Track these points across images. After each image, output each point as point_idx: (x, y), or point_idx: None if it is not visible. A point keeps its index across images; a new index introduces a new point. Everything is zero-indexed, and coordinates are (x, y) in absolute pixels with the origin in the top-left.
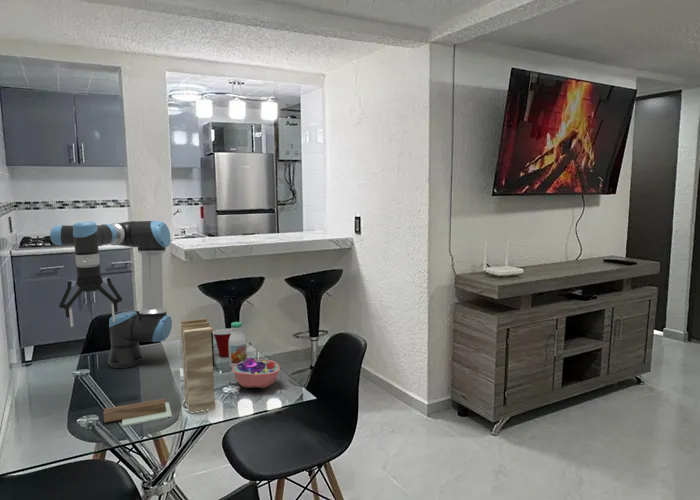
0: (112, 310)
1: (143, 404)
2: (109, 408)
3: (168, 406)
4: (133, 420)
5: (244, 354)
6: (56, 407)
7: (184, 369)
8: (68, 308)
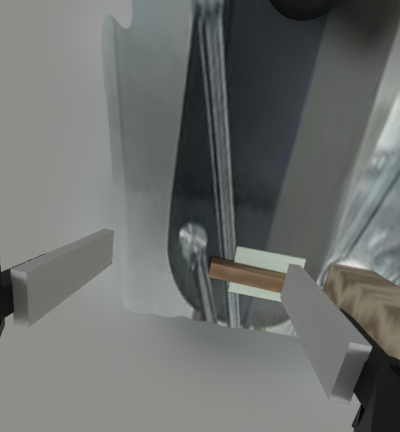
0: (308, 350)
1: (265, 283)
2: (218, 266)
3: None
4: (243, 287)
5: None
6: (156, 167)
7: (369, 321)
8: (7, 311)
